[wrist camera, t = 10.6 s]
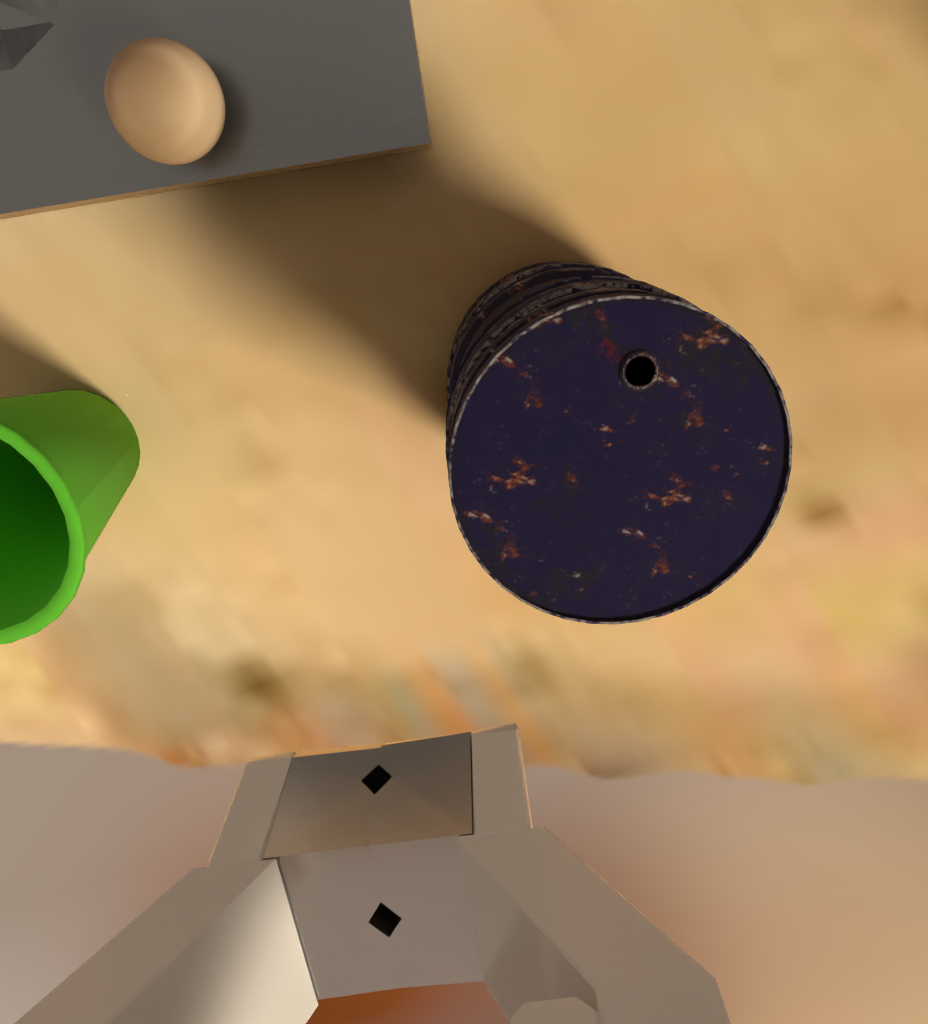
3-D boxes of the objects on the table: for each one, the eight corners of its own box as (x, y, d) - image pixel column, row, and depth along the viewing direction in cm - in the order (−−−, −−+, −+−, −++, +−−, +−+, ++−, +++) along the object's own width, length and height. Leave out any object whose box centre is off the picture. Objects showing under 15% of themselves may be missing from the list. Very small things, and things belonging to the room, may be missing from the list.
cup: (-43, 360, 36) (-243, 420, 25) (156, 333, 35) (35, 383, 25) (22, 543, 39) (-132, 663, 28) (205, 520, 39) (115, 633, 28)
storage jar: (638, 486, 38) (746, 644, 24) (435, 463, 38) (426, 612, 24) (683, 272, 35) (840, 313, 21) (460, 243, 34) (467, 265, 20)
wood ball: (222, 40, 29) (189, 15, 25) (249, 158, 31) (220, 151, 27) (116, 59, 29) (67, 36, 26) (148, 175, 31) (105, 170, 27)
